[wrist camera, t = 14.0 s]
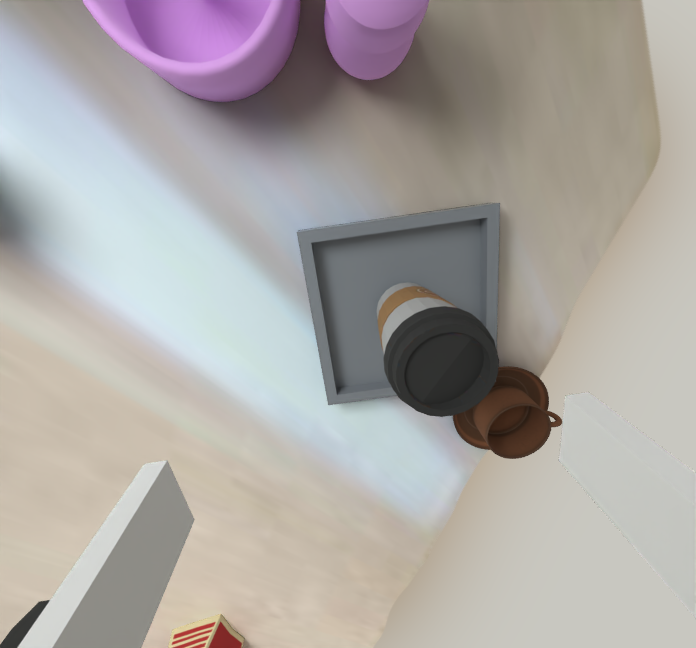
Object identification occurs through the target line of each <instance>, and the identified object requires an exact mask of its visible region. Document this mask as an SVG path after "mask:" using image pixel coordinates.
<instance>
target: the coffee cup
mask: <svg viewBox="0 0 696 648" xmlns="http://www.w3.org/2000/svg"><path fill="white" fill-rule="evenodd" d="M377 320H378V330H379V335H380V341H381V347H382V350H383V352H384V358H383V360H384V371H385V374H386V376H387V379H388V381H389V383H390V385H391V386H392V389H393V390H394V392H395V393H396V394H397V395H398V397H399V398H400V399H401V400H402V401H404V402H405V403H406V404H408V405H409V406H411V407H412V408H414V409H415V410H417V411H418V412H421V413H424V414H427V415H430V416H440V417H443V416H451V415H456V414H459V413H462V412H465V411H467V410H469V409H470V408H472V407H474V406H475V405H477V404H478V403H479V402H480V401H482V400H483V399H484V398H485V397H486V396H487V395H488V393H489V392H490V390H491V389H492V387H493V385H494V384H495V381H496V378H497V375H498V367H499V359H498V355H497V349H496V345H495V342H494V339H493V337H492V336H491V334H490V333H489V331H488V330H487V328H486V327H485V326H484V325H483V323H482V322H481V321H480V320H478V319H477V318H476V317H475V316H474V315H473V314H471V313H469V312H467V311H464V310H462V309H460V308H457V307H456V306H455V305H453V304H452V303H450V302H449V301H447V300H445V299H444V298H442V297H440V296H439V295H437V294H435V293H434V292H432V291H430V290H428V289H426V288H424V287H422V286H420V285H418V284H415V283H409V282H406V283H399V284H397V285H394V286H392V287H391V288H389V289H388V290H386V291H385V293H384V294H383V295H382V296H381V298H380V300H379V302H378V305H377Z"/></svg>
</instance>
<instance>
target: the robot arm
mask: <svg viewBox="0 0 696 648" xmlns="http://www.w3.org/2000/svg"><path fill="white" fill-rule="evenodd" d="M559 462H560V463H561V464H562V465H563V466H564V467H565V469H566V470H567V471H568V472H569V473H570V474H571V476H572V477H573V478H574V479H575V480H576V481H577V483H578V484H579V485H580V486H581V487H582V488H583V489H584V491H585V492H586V493H587V494H588V495H589V496H590V497H591V499H592V500H593V501H594V502H595V503H596V504H597V505H598V507H599V508H600V509H601V510H602V511H603V512H604V514H605V515H606V516H607V517H608V518H609V519H610V521H611V522H612V523H613V524H614V525H615V526H616V527H617V529H619V531H620V532H621V533H622V534H623V535H624V537H625V538H626V539H627V540H628V541H629V542H630V543H631V545H632V546H633V547H634V548H635V549H636V550H637V552H638V553H639V554H640V555H641V556H642V557H643V558H644V560H645V561H646V562H647V563H648V564H649V565H650V567H651V568H652V569H653V570H654V571H655V572H656V573H657V575H658V576H659V577H660V578H661V579H662V580H663V582H664V583H665V584H666V585H667V586H668V587H669V588H670V590H671V591H672V592H673V593H674V594H675V595H676V597H677V598H678V599H679V600H680V601H681V602H682V603H683V605H684V606H685V607H686V608H687V609H688V610H689V611H690V613H691V614H692V615H693V616H694V617H695V618H696V472H695V471H693V470H692V469H691V468H689V467H688V466H687V465H685V464H684V463H683V462H682V461H680V460H679V459H678V458H676V457H675V456H674V455H672V454H671V453H670V452H668V451H667V450H666V449H664V448H663V447H661V446H660V445H659V444H657V443H656V442H655V441H654V440H652V439H651V438H650V437H648V436H647V435H645V434H644V433H643V432H641V431H640V430H639V429H638V428H636V427H635V426H634V425H632V424H631V423H629V422H628V421H627V420H626V419H624V418H623V417H621V416H620V415H619V414H618V413H616V412H615V411H614V410H612V409H611V408H609V407H608V406H607V405H606V404H604V403H603V402H602V401H600V400H599V399H598V398H596V397H595V396H594V395H592V394H591V393H590V392H584V393H578V394H572V395H566V396H565V403H564V413H563V423H562V433H561V443H560V453H559ZM193 522H194V518H193V515H192V513H191V511H190V509H189V507H188V504H187V502H186V500H185V498H184V496H183V493H182V491H181V489H180V487H179V485H178V482H177V480H176V478H175V476H174V474H173V472H172V469H171V467H170V465H169V463H168V461H167V460H166V461H159V462H153V463H147V464H144V465H143V467H142V468H141V469H140V471H139V472H138V474H137V475H136V477H135V478H134V480H133V481H132V482H131V484H130V485H129V487H128V488H127V490H126V491H125V493H124V494H123V495H122V497H121V498H120V500H119V501H118V503H117V504H116V506H115V507H114V509H113V510H112V511H111V513H110V514H109V516H108V517H107V519H106V520H105V522H104V523H103V524H102V526H101V527H100V529H99V530H98V532H97V533H96V535H95V536H94V537H93V539H92V540H91V542H90V543H89V545H88V546H87V548H86V549H85V550H84V552H83V553H82V555H81V556H80V558H79V559H78V561H77V562H76V564H75V565H74V566H73V568H72V569H71V571H70V572H69V574H68V575H67V577H66V578H65V579H64V581H63V582H62V584H61V585H60V587H59V588H58V590H57V591H56V592H55V594H54V595H53V597H52V598H51V600H47V601H41V602H39V603H38V604H37V605H36V606H35V607H33V608H32V609H31V610H30V611H29V612H28V613H27V614H26V615H25V616H24V617H23V618H22V619H21V620H20V621H19V622H18V623H17V624H16V625H15V626H14V627H13V628H12V629H11V631H10V632H9V634H8V635H7V636H6V638H5V639H4V640H3V642H2V643H1V644H0V648H141V647H142V644H143V642H144V640H145V637H146V635H147V632H148V630H149V628H150V625H151V623H152V620H153V618H154V616H155V613H156V611H157V608H158V606H159V604H160V601H161V599H162V596H163V594H164V592H165V589H166V587H167V584H168V582H169V580H170V577H171V575H172V572H173V570H174V568H175V565H176V563H177V560H178V558H179V556H180V553H181V551H182V548H183V546H184V544H185V541H186V539H187V536H188V534H189V532H190V529H191V527H192V524H193Z"/></svg>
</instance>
